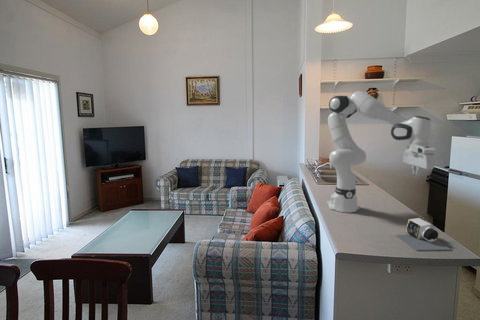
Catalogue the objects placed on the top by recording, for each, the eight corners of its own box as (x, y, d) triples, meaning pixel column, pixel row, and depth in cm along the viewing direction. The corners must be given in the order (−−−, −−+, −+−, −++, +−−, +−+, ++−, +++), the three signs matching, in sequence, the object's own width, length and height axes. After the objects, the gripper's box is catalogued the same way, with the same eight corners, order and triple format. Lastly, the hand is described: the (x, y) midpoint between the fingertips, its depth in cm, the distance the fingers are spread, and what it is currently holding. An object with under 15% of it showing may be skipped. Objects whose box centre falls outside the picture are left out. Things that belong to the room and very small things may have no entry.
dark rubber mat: (395, 235, 141) (395, 234, 141) (427, 235, 142) (427, 234, 142) (416, 250, 126) (416, 249, 125) (451, 250, 126) (451, 249, 126)
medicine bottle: (408, 219, 140) (430, 231, 129) (418, 217, 142) (441, 229, 132) (405, 232, 142) (427, 245, 131) (415, 230, 144) (438, 242, 134)
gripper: (400, 145, 155) (398, 170, 157) (426, 150, 135) (423, 179, 137) (412, 145, 155) (409, 170, 157) (439, 150, 135) (435, 178, 137)
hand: (416, 174), depth 147 cm, fingers closed
